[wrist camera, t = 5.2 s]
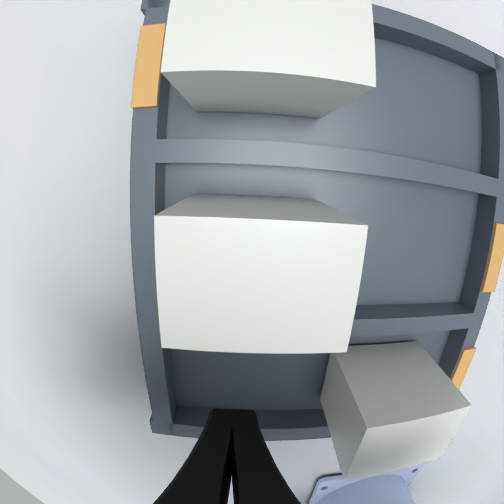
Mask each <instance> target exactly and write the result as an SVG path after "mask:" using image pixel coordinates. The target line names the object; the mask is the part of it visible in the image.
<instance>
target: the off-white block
mask: <svg viewBox="0 0 504 504" xmlns="http://www.w3.org/2000/svg"><path fill="white" fill-rule="evenodd" d="M367 231H368V225H366V224H364V223H362V222H360V221H359V220H357V219H355V218H353V217H351V216H349V215H347V214H345V213H343V212H341V211H339V210H337V209H335V208H333V207H331V206H329V205H327V204H324V203H322V202H320V201H318V200H313V199H299V198H282V197H264V196H242V195H214V194H192V195H190V196H188V197H187V198H185V199H183V200H181V201H179V202H177V203H176V204H174V205H172V206H170V207H169V208H167V209H165V210H163V211H161V212H160V213H158V214H156V215H154V238H155V267H156V286H157V301H158V314H159V326H160V337H161V347H162V348H171V349H183V350H197V351H213V352H234V353H273V354H303V353H341V352H347V348H348V344H349V339H350V335H351V330H352V325H353V320H354V315H355V309H356V304H357V298H358V293H359V287H360V281H361V275H362V268H363V261H364V254H365V247H366V240H367Z"/></svg>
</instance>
